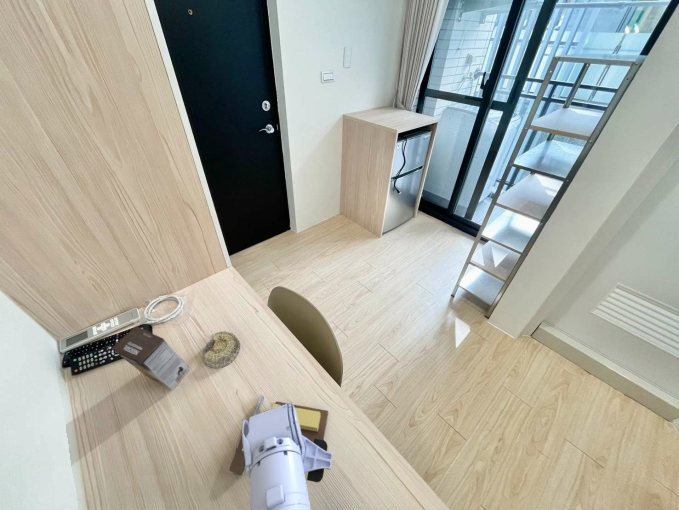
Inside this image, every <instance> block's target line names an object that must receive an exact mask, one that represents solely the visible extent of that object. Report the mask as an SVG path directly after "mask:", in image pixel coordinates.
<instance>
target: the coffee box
mask: <svg viewBox="0 0 679 510" xmlns="http://www.w3.org/2000/svg"><path fill="white" fill-rule="evenodd" d="M111 350H112V351H114V352H115V353H116V354H117V355H119V357H121V358H122V359H123V360H125V361H126V362H128V363H129V364H130V365H131V366H132V367H134V368H135V369H136V370H138V371H139V372H140V373H141V374H143V375H144V376H145V377H146V378H148V379H150V380H151V381H154V382H156V383H157V384H159V385H161V386H163V387H165V388H167V389H169V390H170V391H173V390H174V389H175V388H176V387H177V386H178V385H179V383H180V382H181V381H182V380H183V378H184V377H185V376H186V375H187V374H188V373H189V371H190V370H191V368H190V366H188V364H187V363H186V362H185V361H184V360H183V359H182V358H181V356H180V355H179V354H178V353H177V352H176V351H175V349H173V347H172V346H171V344H169V343H168V342H167V341H166V339H165V338H163V337H161V336H159V335H156V334H154V333H152V332H151V331H148V330H145V329H143V328H141V327H139V326H135V327H134V328H132V329H131V330H130V331H129V332H128V333H127V334H125V336H123V337H122V338H121V339H119V341H118V342H117V343H115V344H114V346H113V347H112V348H111Z"/></svg>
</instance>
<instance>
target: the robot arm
mask: <svg viewBox="0 0 679 510" xmlns="http://www.w3.org/2000/svg"><path fill="white" fill-rule="evenodd" d="M287 404H288V405H287ZM287 404H285V405H282V406H279V407H276V408H274V409H268V410H265V411H263V412H259V414H257V415H254V414H253V415H254V416H253V415H251V416H250V417H249V419H248V420H247V419H244V420H243V421H242V426H241V427H242V429H241V435H242V442H243V448H242V451H243V452H244V456H245V471H246V474H247V476H248V478H249V490H250V491H249V492H250V494H249V495H250V510H312V507H311V501H310V494H309V489H308V485H307V481H309V482H313V483H320V482H322V480H323V478H324V473H325V469H326V470H329V471H331V470H332V465H333V458H334V453H333V452H329V451H328V443H327V441H326V440H325V439H324V440H320V439H314V443H313V442H311V441H310V440H309V439H307V438H306V437H304V436H303V435H302V434H301V429H300V424H299V420H298V416H297V412H296V409H295V407H294V405H295V404H294V403H293V401H291V402H290V403H287ZM306 473H307V476H306Z"/></svg>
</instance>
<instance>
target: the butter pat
mask: <svg viewBox="0 0 679 510" xmlns="http://www.w3.org/2000/svg"><path fill="white" fill-rule="evenodd" d="M279 406H281V405H278V404H275V403H272V406H271V409H274V408H276V407H279ZM271 409H270V410H271Z"/></svg>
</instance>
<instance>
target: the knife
mask: <svg viewBox="0 0 679 510" xmlns="http://www.w3.org/2000/svg"><path fill="white" fill-rule="evenodd" d="M264 400H265V397H264V395H263V394H260V395H259V398H258V401H257V404H256V407H255V410H254V413H253V415H252V416H254V415H257V414H260V413H261V412H260V411H261V409H262V406H263V402H264ZM242 448H243V442H242V434H241V435H240V439H239V441H238V444H237V446H236V450H235V452H234V455H233V458H232V461H231V464H230V466H229V469H228V471H229V472H231V473H232V474H235V475H241V476H243V474H244V471H245V470H246V466H245V456H244V452H243V451H242Z"/></svg>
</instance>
